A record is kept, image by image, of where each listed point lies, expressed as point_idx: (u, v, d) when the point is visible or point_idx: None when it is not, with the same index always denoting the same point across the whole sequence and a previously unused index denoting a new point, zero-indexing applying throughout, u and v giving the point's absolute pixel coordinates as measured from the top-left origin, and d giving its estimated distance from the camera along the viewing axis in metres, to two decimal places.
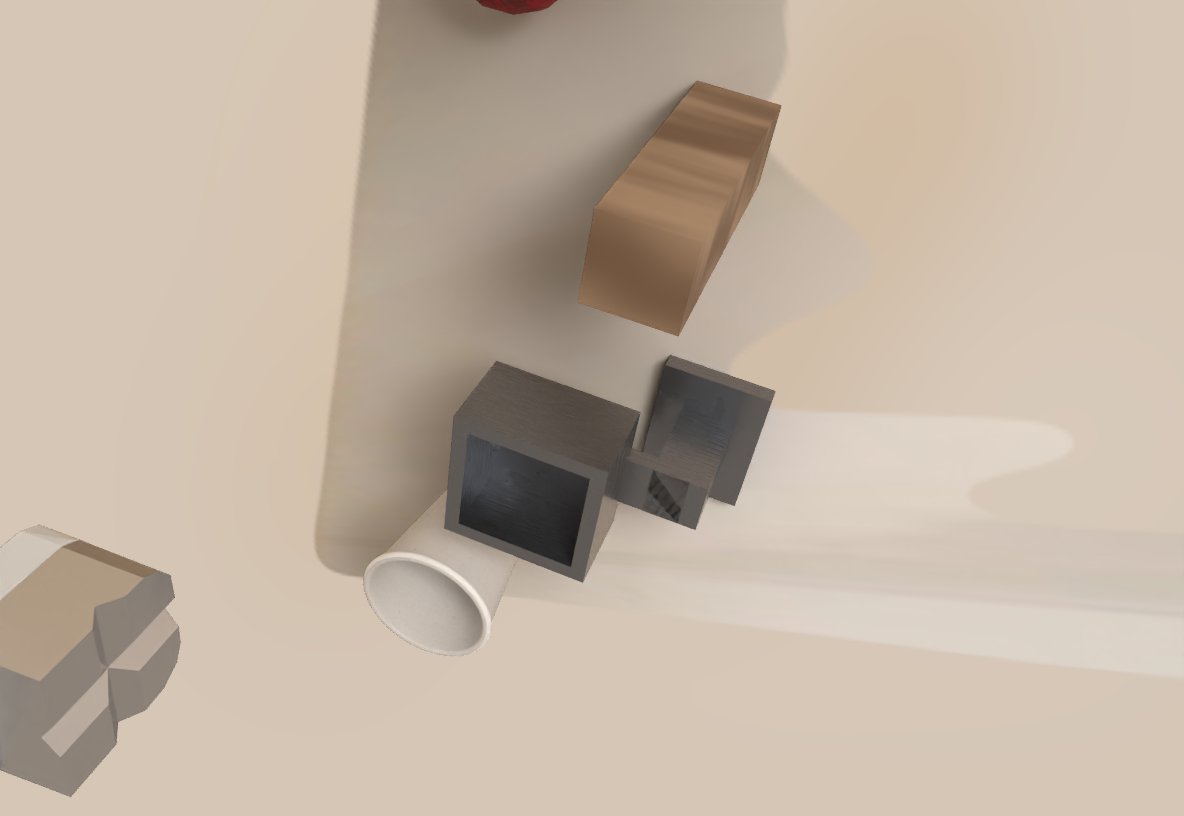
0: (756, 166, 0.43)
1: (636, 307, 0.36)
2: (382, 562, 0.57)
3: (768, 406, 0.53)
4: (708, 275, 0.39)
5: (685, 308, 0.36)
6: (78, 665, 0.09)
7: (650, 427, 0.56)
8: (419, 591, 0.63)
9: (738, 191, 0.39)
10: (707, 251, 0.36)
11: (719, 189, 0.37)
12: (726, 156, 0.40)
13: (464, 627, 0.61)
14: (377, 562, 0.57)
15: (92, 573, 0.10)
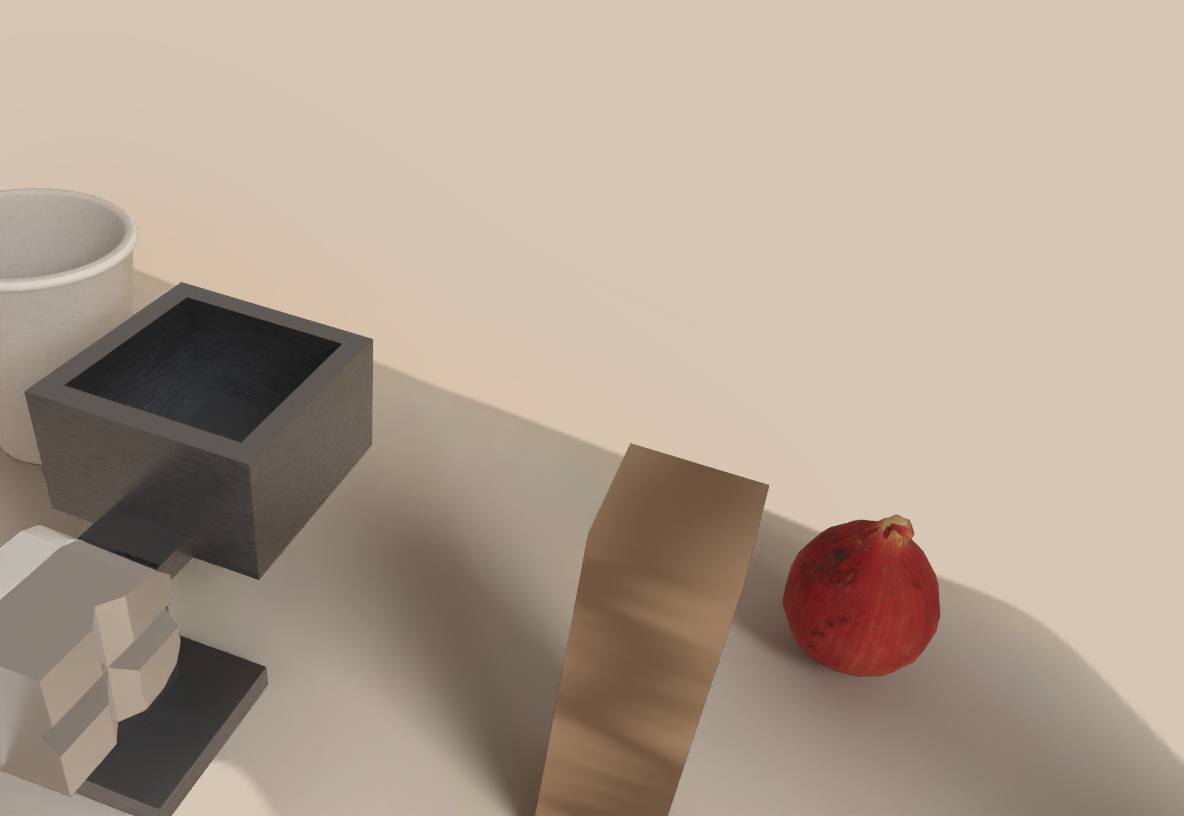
0: (613, 807, 0.31)
1: (630, 497, 0.26)
2: (126, 220, 0.42)
3: (150, 803, 0.31)
4: (581, 646, 0.27)
5: (634, 549, 0.25)
6: (78, 665, 0.09)
7: None
8: (14, 261, 0.44)
9: (661, 730, 0.28)
10: (678, 616, 0.25)
11: None
12: None
13: None
14: (128, 216, 0.42)
15: (92, 573, 0.10)
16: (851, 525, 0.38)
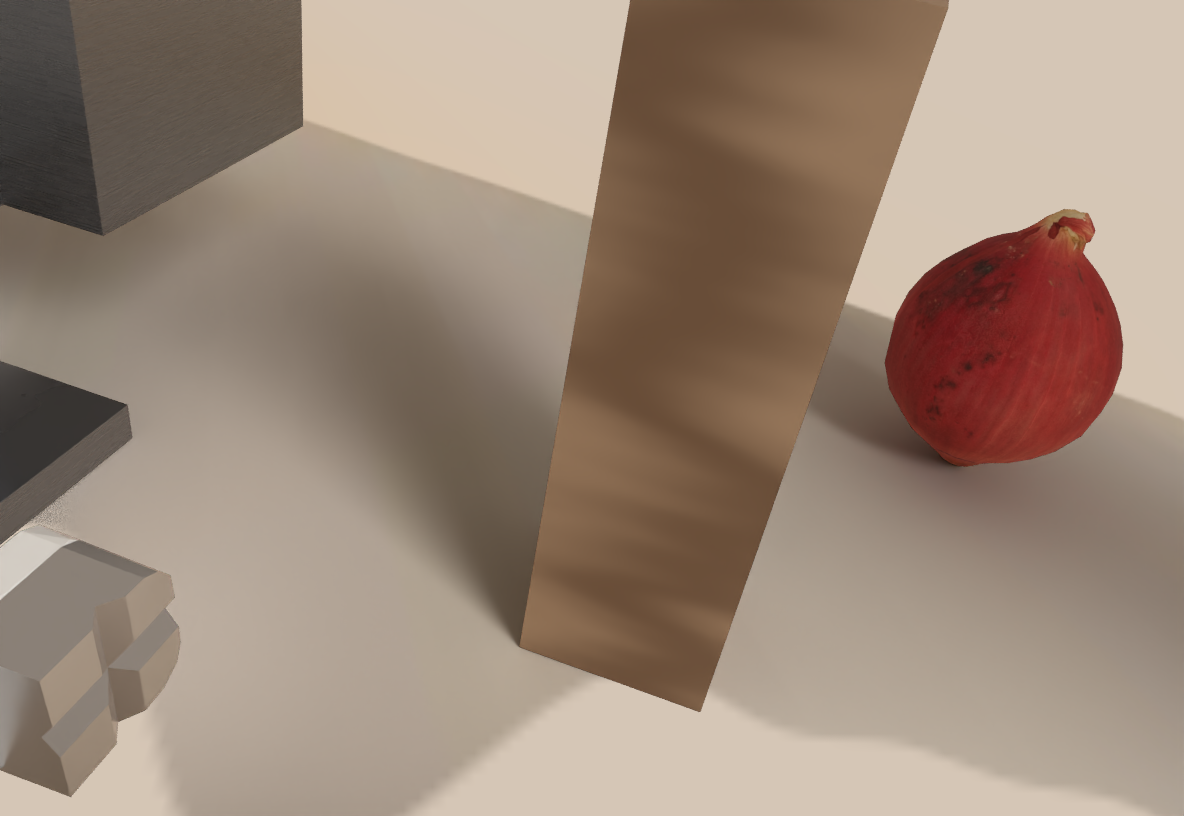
0: (656, 573, 0.19)
1: None
2: None
3: None
4: (616, 229, 0.15)
5: None
6: (78, 665, 0.09)
7: None
8: None
9: (749, 401, 0.16)
10: (805, 122, 0.14)
11: None
12: None
13: None
14: None
15: (92, 573, 0.10)
16: (992, 237, 0.26)
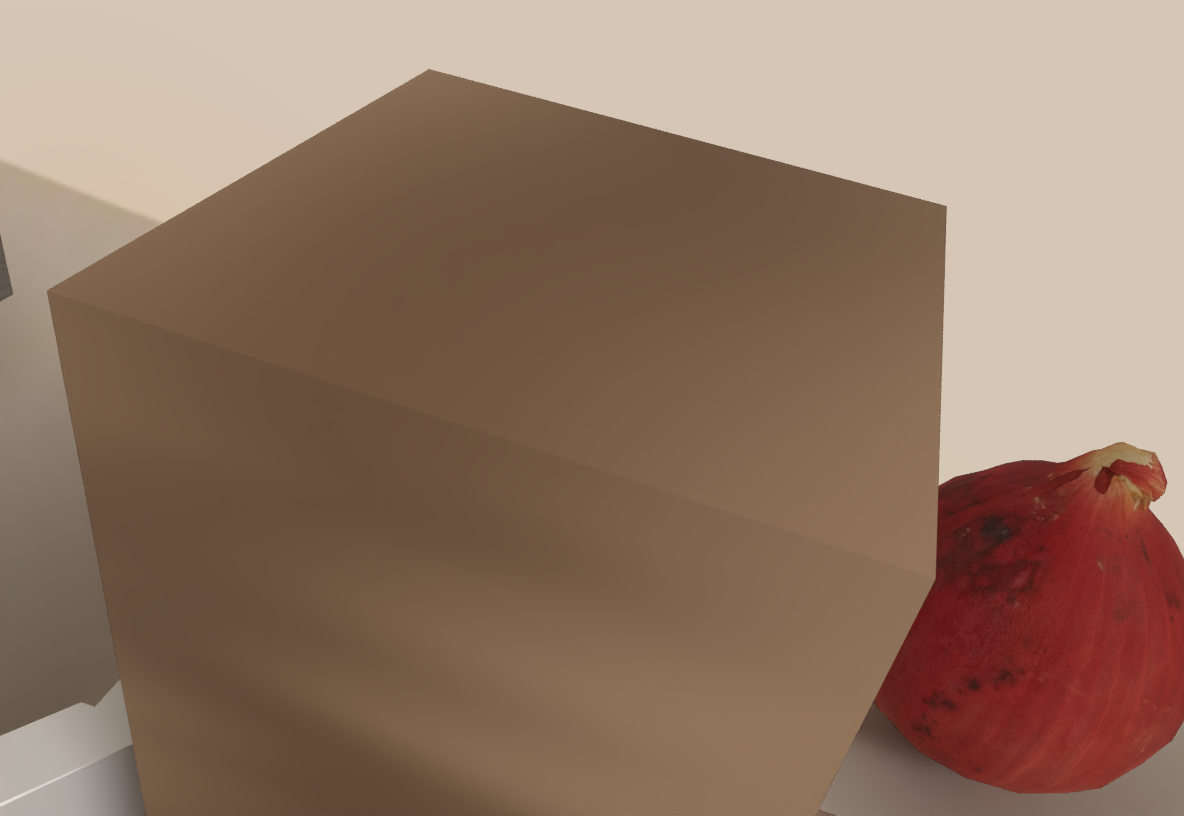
0: None
1: (360, 191, 0.06)
2: None
3: None
4: None
5: (288, 379, 0.04)
6: None
7: None
8: None
9: None
10: (557, 744, 0.05)
11: None
12: None
13: None
14: None
15: None
16: (1008, 469, 0.18)
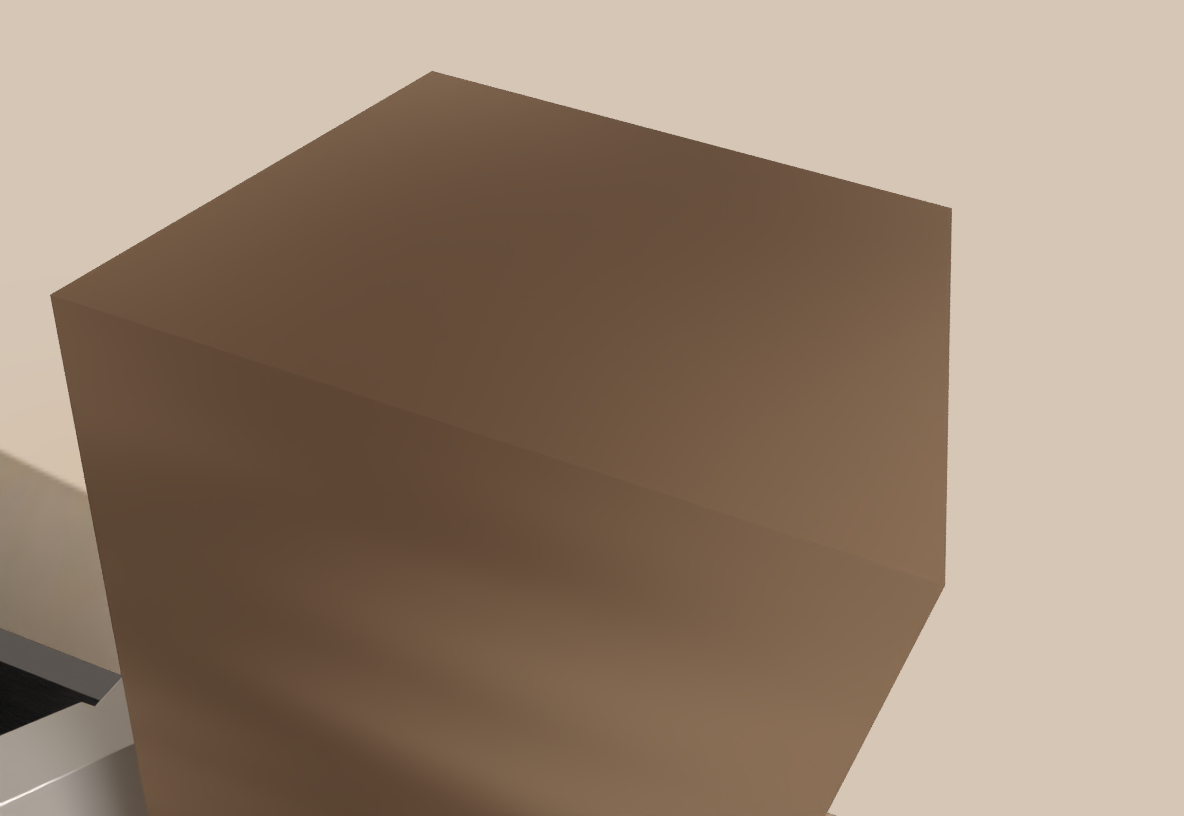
0: None
1: (364, 192, 0.06)
2: None
3: None
4: None
5: (293, 384, 0.04)
6: None
7: None
8: None
9: None
10: (562, 750, 0.05)
11: None
12: None
13: None
14: None
15: None
16: None
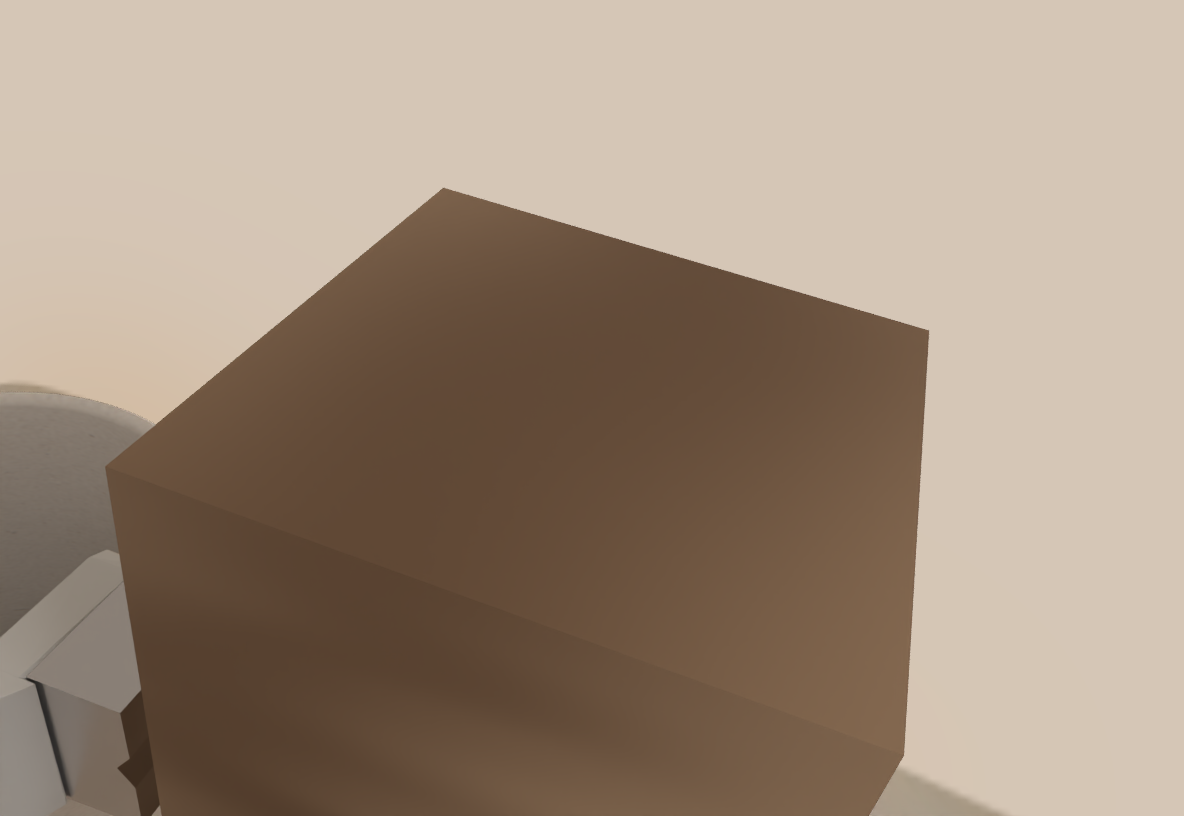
0: None
1: (383, 336, 0.06)
2: None
3: None
4: None
5: (324, 553, 0.05)
6: None
7: None
8: None
9: None
10: None
11: None
12: None
13: None
14: None
15: None
16: None
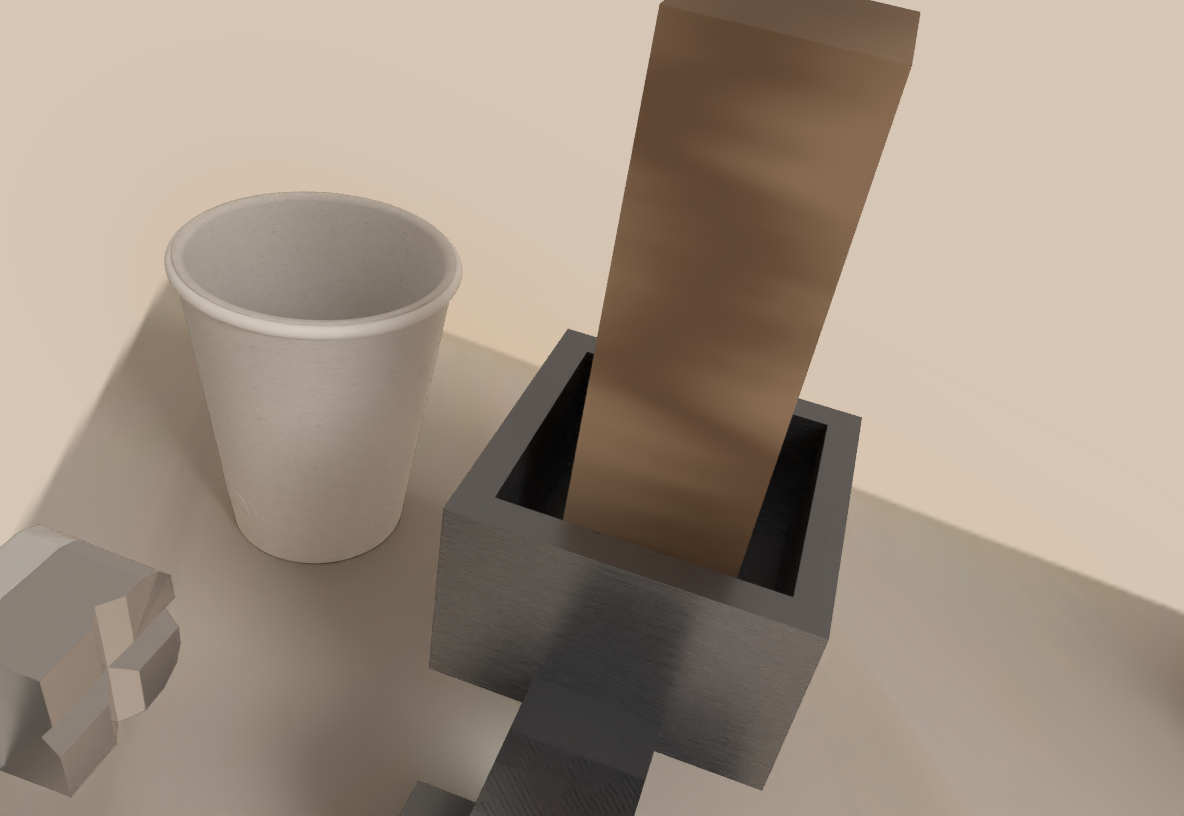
0: (668, 542, 0.21)
1: None
2: (441, 237, 0.31)
3: None
4: (636, 244, 0.18)
5: (732, 26, 0.15)
6: (78, 665, 0.09)
7: None
8: (271, 288, 0.33)
9: (749, 390, 0.19)
10: (795, 156, 0.16)
11: None
12: None
13: None
14: (440, 232, 0.31)
15: (92, 573, 0.10)
16: None
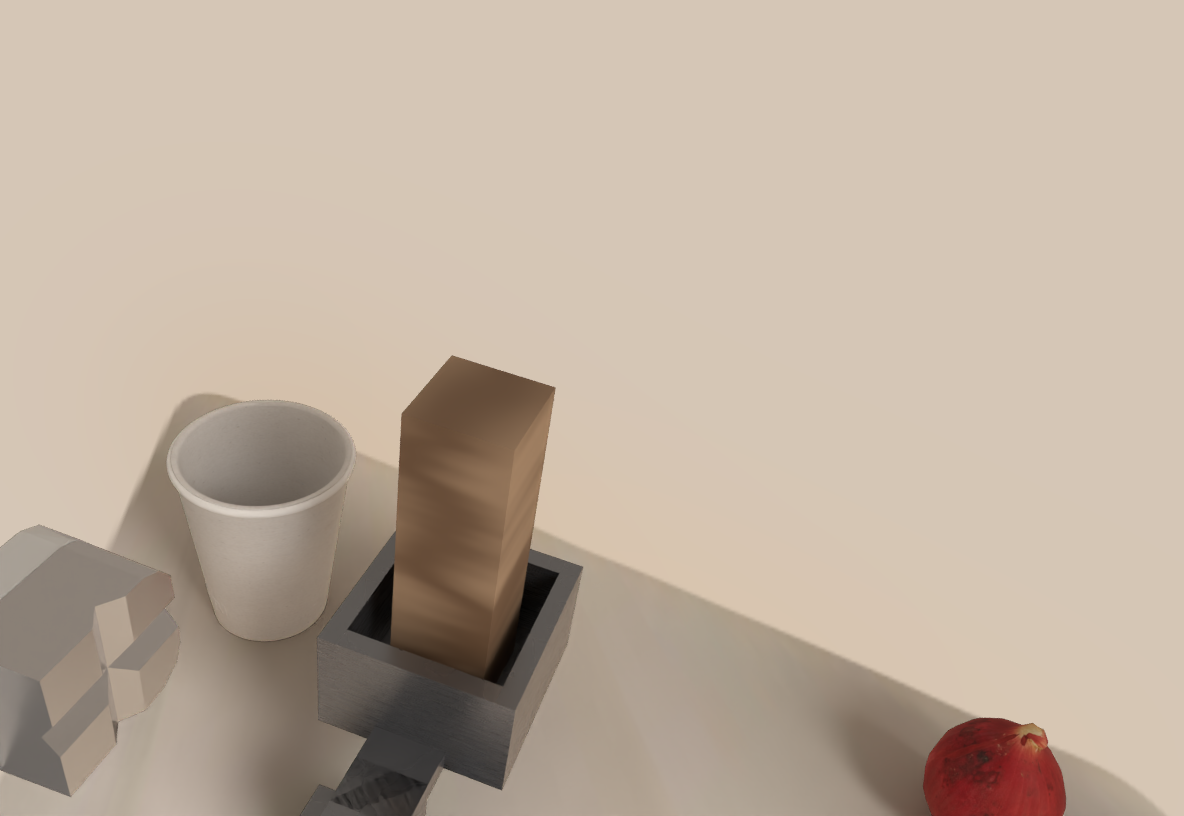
0: (446, 651, 0.38)
1: (441, 391, 0.34)
2: (344, 434, 0.48)
3: None
4: (407, 509, 0.35)
5: (435, 426, 0.32)
6: (78, 665, 0.09)
7: None
8: (236, 460, 0.50)
9: (472, 580, 0.36)
10: (473, 480, 0.33)
11: (507, 536, 0.35)
12: (503, 587, 0.37)
13: None
14: (344, 429, 0.48)
15: (92, 573, 0.10)
16: (988, 726, 0.44)
